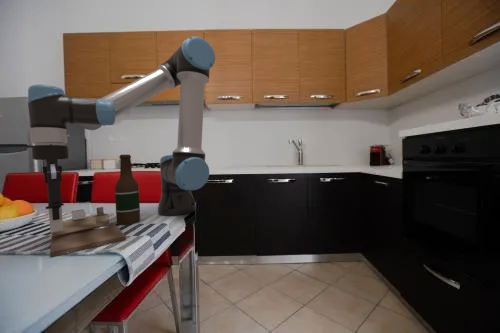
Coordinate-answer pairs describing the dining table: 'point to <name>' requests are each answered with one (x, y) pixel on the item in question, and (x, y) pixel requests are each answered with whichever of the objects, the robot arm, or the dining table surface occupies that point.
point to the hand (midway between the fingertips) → (56, 230)
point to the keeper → (81, 214)
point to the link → (84, 222)
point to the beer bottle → (127, 194)
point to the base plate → (84, 239)
